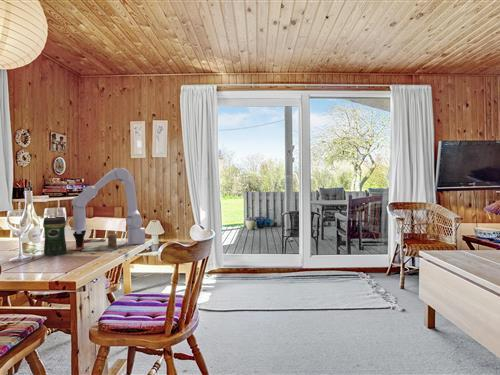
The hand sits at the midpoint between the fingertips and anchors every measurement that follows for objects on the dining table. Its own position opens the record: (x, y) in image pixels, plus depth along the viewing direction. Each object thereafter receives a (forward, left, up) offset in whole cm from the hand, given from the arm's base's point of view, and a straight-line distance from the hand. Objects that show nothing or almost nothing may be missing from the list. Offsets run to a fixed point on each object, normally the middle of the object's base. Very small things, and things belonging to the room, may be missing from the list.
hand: (79, 245), depth 176 cm
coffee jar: (+10, +6, -2) cm, 12 cm away
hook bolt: (-5, 0, -1) cm, 5 cm away
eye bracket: (-10, 0, -2) cm, 10 cm away
